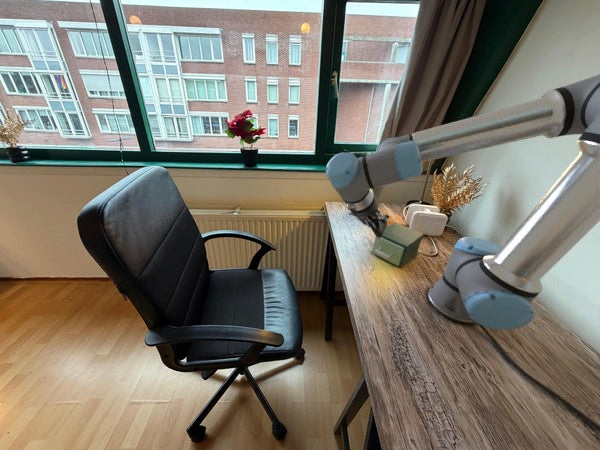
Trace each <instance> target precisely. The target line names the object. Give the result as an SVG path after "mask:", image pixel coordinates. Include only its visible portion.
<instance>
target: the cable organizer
mask: <svg viewBox="0 0 600 450" xmlns="http://www.w3.org/2000/svg"><path fill="white" fill-rule="evenodd" d="M440 211H441V210H440V208H439V207H438V206H436V205H427V204H420V203H419V204H418V203H412V204H410V205H408V208H407V212H406V215H405V219H404V222H405V224H406V225H408V228H410V229H412V230H415V231H417V232H419V233H422V234H424V235H426V236H431V237H438V236H441V235H442V234H443V233H444V231H445V228H446V225H447V222H448V220H449V218H448V216H447V215H446V214H445V213H440Z"/></svg>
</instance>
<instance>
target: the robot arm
mask: <svg viewBox="0 0 600 450" xmlns="http://www.w3.org/2000/svg"><path fill="white" fill-rule="evenodd" d="M572 135H573V136H574V135H580V136H579V138H578V139H577V140H576V143H577V147H578V149H579V150H578V151H579V152H578V153H579V154H578V155H577V156H576V157H575V159H574V160H573V161H572V162H571V164H570V165H569V166H568V167H567V169H565V170H564V172H563V173H562V175H560V177H559V178H558V179H557V180H556V182H555V183H554V184H553V185H552V187H551V188H550V189H549V190H548V191H547V192H546V193H545V195H544V196H543V197H542V198H541V200H540V201H539V202H538V203H537V204H536V205H535V207H534V208H533V209H532V211H530V213H529V214H528V215H527V216H526V217H525V219H524V220H523V222H522V223H520V225H519V226H518V227H517V229H516V230H515V231H514V232H513V234H512V235H511V236H510V237H509V238H508V240H506V242H505V243H504V244H503V246H501V245H499V244H497V243H495V242H492V241H490V240H486V239H483V238H478V237H472V236H465V237H464V236H463V237H461V238H459V239H458V240H457V242H456V243H455V245H454V246H453V250H452V251H451V254H450V256H449V259H448V262H447V263H446V266H445V268H444V271H443V274H442V276H441V277H440V278H439V279H438V280H437V281H436V282H435V283H434V284H433V285H431V286H430V288H429V290H428V291H427V300H428V302H429V303H430V306H432V307H433V308H434V310H435V311H437V312H438V313H439V314H440V315H442V316H443V317H445V318H447V319H449V320H452V321H454V322H456V323H460V324H465V325H472V324H474V325H475V324H477V325H478V326H479V328H480V329H481V330H482V331H483V332H484V333H485V334H486V336H487V337H488V338H489V339H490V341H491V342H492V343H493V344H494V345H495V346H496V348H497V349H498V350H499V351H500V352H501V354H502V355H503V356H504V357H505V359H506V360H507V361H508V362H509V363H510V364H511V365H512V366H513V367H514V368H515V369H517V370H518V371H519V372H520V373H521V374H522V375H523V376H525V377H526V378H527V379H528V380H530V381H531V382H533V383H534V384H535V385H537V386H538V387H540V388H541V389H542V390H544V391H546V392H547V393H549V394H550V395H551V396H553V397H555V398H556V399H557V400H558V401H560V402H561V403H563V404H564V405H565V406H567V407H568V408H569V409H570V410H572V411H573V412H575V414H577V415H578V416H580V417H581V418H582V419H584V420H585V421H586V422H587V423H589V424H590V425H591V426H593V427H594V428H595V429H597V430H598V431H599V432H600V425H599V424H598V423H597V422H595V421H594V420H592V419H591V418H590V417H588V416H587V415H586V414H585V413H584V412H582V411H581V410H579V409H578V408H576V407H575V406H574V405H573V404H572V403H570V402H569V401H567V400H566V399H565V398H563V397H561V395H559V394H558V393H556V392H555V391H553V390H552V389H550V388H549V387H548V386H546V385H544V384H543V383H542V382H540V381H538V380H537V379H536V378H535V377H533V376H532V375H530V374H529V373H527V372H526V371H525V370H524V369H523V368H521V366H519V365H518V364H517V362H515V361H514V360H513V359H512V358H511V357H510V356H509V354H508V353H507V352H506V351H505V350H504V349H503V347H502V346H501V345H500V344H499V343H498V341H497V340H496V339H495V338H494V337H493V335H492V334H491V333H490V332H489V331H488V330H487V329H491V330H497V331H504V330H505V331H511V330H512V331H513V330H517V329H521V328H523V327H526V326H527V325H529V324H530V323H531V322H532V321H533V319H534V318H535V311H534V310H535V309H534V306H533V305H532V303H531V302H532V301H533V300H534V299H535V298H536V297H538V296H539V294H540V293H542V292H543V290H544V287H543V284H542V281H541V279H542V278H543V277H544V276H545V275H546V274H547V273H548V272H549V271H551V269H552V268H553V267H555V266H556V265H557V263H559V261H560V260H562V259H563V258H564V257H565V255H567V254H568V252H570V251H571V250H572V249H573V248H574V247H575V246H576V245H577V244H578V243H579V242H580V241H581V240H582V239H583V238H584V237H585V236H586V235H587V234H588V233H589V232H590V231H591V230H592V229H593V228H595V226H596V225H597V224H598V223H599V222H600V73H599V74H596V75H593V76H591V77H587V78H585V79H582V80H579V81H576V82H573V83H570V84H566V85H564V86H560V87H557V88H552V89H550V90H547V91H546V92H545V93H544V94H543V95H542V96H541V97H539V98H537V99H533V100H530V101H525V102H522V103H518V104H515V105H512V106H507V107H504V108H500V109H497V110H493V111H489V112H485V113H482V114H478V115H475V116H470V117H467V118H464V119H460V120H457V121H453V122H449V123H445V124H442V125H438V126H434V127H430V128H427V129H423V130H420V131H416V132H413V133H410V134H405V135H402V136H398V137H397V136H391V137H388V138H385V139H384V140H383V141H381V143H379V146H377V147H378V148H377V149H376V152H373V153H370V154H367V155H364V156H360V157H356V155H355V154H353V153H351V152H345V151H343V152H340V153H337V154H335V155H334V156H333V157H331V158H330V160H329V161H328V162H327V164H326V167H325V174H326V175H325V176H326V177H327V179H328V180H329V182H330V185H331V187H332V188H333V189H334V190H335V191H336V192H337V194H338V195H339V196H340V199H342V202H344V204H345V205H346V206H345V207H346V208H347V210H348V211H349V212H350V213H352V214H351V215H353V216H354V217H356V218H357V219H358V220H359V221H360V222H361V223H362V224H363V225H364V226H366V225H367V227H368V228H370V229H371V231H372V233H373V234H374V235H375V238H376V237H378V238H380V237H381V236H382V234H383V233H384V230H385V228H386V227H388V220H389V218H390V215H389V214H381V210H380V209H379V208H378V209H377V200H376V198H375V196H374V194H373V191H372V188H376V187H380V186H384V185H386V186H387V185H391V184H394V183H399V182H402V181H408V180H409V179H413V178H415V177H418V176H421V175H422V173H423V172H424V166H423V163H425V162H429V161H430V162H431V161H433V160H438V159H442V158H448V157H451V156H456V155H460V154H465V153H469V152H474V151H478V150H483V149H488V148H491V147H492V148H493V147H497V146H501V145H506V144H510V143H515V142H519V141H523V140H527V139H532V138H537V137H541V136H543V137H544V138H547V139H554V138H558V137H565V136H572ZM486 328H487V329H486Z"/></svg>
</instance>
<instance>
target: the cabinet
mask: <svg viewBox="0 0 600 450" xmlns="http://www.w3.org/2000/svg"><path fill="white" fill-rule="evenodd" d="M424 235H425V234H422V233H419V232H417V231H415V230H412V229H410V228H409V227H407V226H404V225H402V224H400V223H397V222H393V223H391V224H389V225H387V227H386V228H385V230H384V233H383V234H382V236H381V237H383V238H385V239H387V240H389V241H392V242H394V243H396V244H398V245H400V246H402V247H405V249H404V252H403V255H402V258H401V262H400V265H399V266H397V265H395V266H397V267H398V268H402V267H403V266H404V265H406V264H407V263H408V262H409V261H410V260H411V259H413V258H414V257H415V256H416V255H417V254H418V253H419V249H420V246H421V243H422V240H423V237H424ZM372 251H373V249H372ZM372 254H373V255H374V256H375V255H376V254H374V253H372ZM376 256H378V255H376ZM378 257H379V256H378Z"/></svg>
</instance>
